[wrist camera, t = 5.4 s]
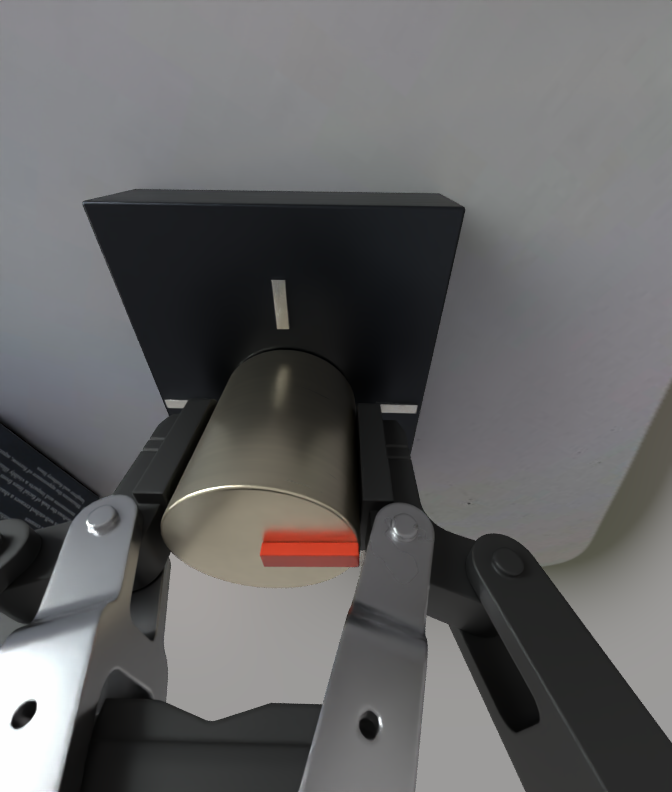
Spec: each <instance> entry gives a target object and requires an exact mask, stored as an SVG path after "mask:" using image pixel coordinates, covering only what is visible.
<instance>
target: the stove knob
mask: <svg viewBox="0 0 672 792" xmlns="http://www.w3.org/2000/svg"><path fill="white" fill-rule="evenodd" d="M160 527H161V535H162V538H163V541H164V543H165V544H166V546H167V547H168V549H169V550H170V551H171V552H172V553H173V554H174V555H175V556H177V558H178V559H180V560H181V561H183V562H184V563H185V564H187V565H189V566H190V567H192V568H194V569H196V570H198V571H200V572H202V573H204V574H207V575H209V576H212V577H214V578H218V579H221V580H224V581H228V582H232V583H236V584H241V585H246V586H254V587H264V588H292V587H302V586H308V585H313V584H318V583H321V582H324V581H327V580H330V579H332V578H335V577H336V576H338V575H340V574H342V573H343V572H345V571H346V570H347V569H349V568H350V567H359V552H360V547H361V539H360V514H359V488H358V463H357V437H356V412H355V398H354V394H353V391H352V389H351V386H350V384H349V383H348V381H347V380H346V378H345V377H344V376H343V375H342V374H341V372H340V371H338V370H337V369H336V368H335V367H334V366H333V365H331V364H330V363H328V362H327V361H325V360H323V359H321V358H319V357H317V356H314V355H312V354H308V353H305V352H301V351H294V350H274V351H268V352H264V353H261V354H258V355H255V356H253V357H251V358H249V359H247V360H246V361H245V362H243V363H242V364H241V365H239V366H238V367H237V368H236V369H235V371H234V372H233V373H232V375H231V377H230V379H229V381H228V383H227V385H226V387H225V389H224V391H223V393H222V395H221V397H220V399H219V401H218V403H217V406H216V408H215V410H214V412H213V414H212V416H211V418H210V420H209V422H208V424H207V426H206V428H205V430H204V432H203V434H202V436H201V438H200V441H199V443H198V445H197V447H196V449H195V451H194V453H193V455H192V457H191V459H190V461H189V463H188V465H187V467H186V469H185V471H184V473H183V476H182V478H181V480H180V482H179V484H178V486H177V488H176V490H175V492H174V494H173V496H172V498H171V500H170V502H169V504H168V506H167V508H166V511H165V513H164V515H163V517H162V520H161V526H160Z"/></svg>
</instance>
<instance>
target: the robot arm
mask: <svg viewBox="0 0 672 792" xmlns="http://www.w3.org/2000/svg"><path fill="white" fill-rule="evenodd" d="M217 403H218V402H217V400H216V399H204V398H190V399H189V400H188V401H187V403H186V404H185V406H184V408H183V409H182V411H181V413H180V414H172V415H170V416H169V417H168V418H167V419H165V420H164V421H163V422H162V423H160V424H159V425H158V427H157V428H156V430H155V431H154V433H153V434H152V436H151V437H150V440H148V442H147V443H146V445H145V446H144V448H143V451H141V452H140V454H139V455H138V457H137V459H136V460H135V462H134V463H133V465H132V466H131V468H130V469H129V471H128V472H127V474H126V475H125V477H124V478H123V480H122V481H121V483H120V484H119V486H118V487H117V489H116V490H115V492H114V493H113V495H110V496H107V497H104V498H101V499H99V500H97V501H95V502H93V503H91V504H90V505H88V506H87V507H85V508H84V509H83V510H82V511H81V512H80V513H79V514H78V515H77V516H76V517H75V518H74V520H72V521H69V522H65V523H61V524H57V525H53V526H49V527H44V528H40V529H36V530H33V529H32V528H31V527H30V526H29V525H28V524H27V523H26V522H25V521H23V520H21V519H15V518H11V519H4V520H0V792H415V788H416V778H417V767H418V756H419V745H420V734H421V723H422V712H423V702H424V691H425V681H426V669H427V655H428V653H427V652H428V645H427V639H426V636H425V624H426V615H428V616H430V617H432V618H435V619H437V620H439V621H442V622H444V623H447V624H449V627H450V629H451V631H452V633H453V635H454V638H455V640H456V642H457V644H458V646H459V648H460V650H461V652H462V655H463V657H464V659H465V661H466V664H467V666H468V668H469V670H470V672H471V674H472V676H473V679H474V681H475V683H476V685H477V687H478V690H479V692H480V694H481V696H482V698H483V700H484V702H485V705H486V707H487V709H488V711H489V713H490V716H491V718H492V720H493V722H494V724H495V726H496V728H497V730H498V733H499V735H500V737H501V739H502V742H503V744H504V746H505V748H506V750H507V752H508V754H509V757H510V759H511V761H512V763H513V765H514V768H515V770H516V772H517V774H518V776H519V778H520V781H521V783H522V785H523V787H524V789H525V791H526V792H672V743H671V741H670V740H669V739H668V737H667V736H666V735H665V733H664V732H663V731H662V729H661V728H660V726H659V725H658V724H657V722H655V720H654V718H653V717H652V716H651V714H650V713H649V712H648V710H647V709H646V708H645V706H644V705H643V704H642V702H641V701H640V700H639V698H638V697H637V696H636V694H635V693H634V692H633V690H632V689H631V687H630V686H629V685H628V683H627V682H626V681H625V679H624V678H623V677H622V675H621V674H620V673H619V671H618V670H617V669H616V667H615V666H614V665H613V663H612V662H611V660H610V659H609V658H608V656H607V655H606V654H605V652H604V651H603V650H602V648H601V647H600V646H599V644H598V643H597V642H596V640H595V639H594V638H593V636H592V635H591V633H590V632H589V631H588V629H587V628H586V627H585V625H584V624H583V623H582V621H581V620H580V619H579V617H578V616H577V615H576V613H575V612H574V611H573V609H572V608H571V606H570V605H569V604H568V602H567V601H566V600H565V598H564V597H563V596H562V594H561V593H560V592H559V591H558V589H557V588H556V586H555V585H554V584H553V582H552V581H551V580H550V578H549V577H548V575H547V574H546V573H545V571H544V570H543V569H542V567H541V566H540V565H539V563H538V562H537V561H536V559H535V558H534V557H533V555H532V554H531V553H530V552H529V551H528V550H527V549H526V548H525V547H524V546H523V545H522V544H520V543H519V542H517V541H516V540H514V539H512V538H510V537H508V536H505V535H502V534H486V535H483V536H481V537H480V538H478V539H477V540H476V541H474V540H471V539H468V538H465V537H462V536H460V535H457V534H454V533H451V532H448V531H446V530H444V529H442V528H440V527H439V526H438V525H436V524H435V523H434V522H433V521H431V520H430V518H429V517H428V516H427V515H426V513H425V512H424V510H423V508H422V506H421V502H420V498H419V493H418V489H417V484H416V479H415V475H414V470H413V465H412V461H411V456H410V451H409V448H408V442H407V437H406V433H405V431H404V430H403V428H402V427H401V426H400V424H399V423H398V422H397V421H396V420H383V419H382V412H381V406H380V404H371V403H357V408H356V437H357V463H358V488H359V514H360V539H361V547H360V550H365V552H366V553H365V557H364V561H363V565H362V568H361V572H360V576H359V579H358V583H357V587H356V590H355V594H354V598H353V601H352V605H351V607H350V609H349V612H348V615H347V618H346V621H345V625H344V628H343V631H342V635H341V639H340V642H339V646H338V650H337V653H336V657H335V661H334V664H333V668H332V672H331V676H330V679H329V682H328V686H327V690H326V693H325V697H324V701H323V704H320V705H319V704H289V703H288V704H287V703H270V704H267V705H263V706H260V707H257V708H254V709H251V710H248V711H245V712H242V713H239V714H235V715H232V716H229V717H226V718H223V719H220V720H216V721H207V720H204V719H202V718H200V717H197V716H195V715H193V714H191V713H188V712H186V711H184V710H182V709H179V708H177V707H175V706H173V705H170V704H168V703H166V696H167V682H168V667H167V659H166V655H165V650H164V631H165V621H166V611H167V600H168V590H169V579H170V569H171V562H170V559H169V555H170V552H171V551H170V550H169V549H168V547H167V546H166V544H165V543H164V541H163V538H162V535H161V527H160V526H161V520H162V517H163V515H164V513H165V511H166V508H167V506H168V504H169V502H170V500H171V498H172V496H173V494H174V492H175V490H176V488H177V486H178V484H179V482H180V480H181V478H182V476H183V473H184V471H185V469H186V467H187V465H188V463H189V461H190V459H191V457H192V455H193V453H194V451H195V449H196V447H197V445H198V443H199V441H200V438H201V436H202V434H203V432H204V430H205V428H206V426H207V424H208V422H209V420H210V418H211V416H212V414H213V412H214V410H215V408H216V406H217Z"/></svg>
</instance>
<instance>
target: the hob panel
mask: <svg viewBox="0 0 672 792" xmlns="http://www.w3.org/2000/svg"><path fill="white" fill-rule="evenodd" d="M83 207H84V210H85V212H86V214H87V217H88V219H89V222H90V224H91V227H92V229H93V231H94V234H95V236H96V239H97V241H98V244H99V246H100V249H101V251H102V253H103V256H104V258H105V261H106V263H107V266H108V268H109V270H110V273H111V275H112V278H113V280H114V283H115V285H116V287H117V290H118V292H119V295H120V297H121V300H122V302H123V305H124V307H125V309H126V312H127V314H128V317H129V319H130V322H131V324H132V326H133V329H134V331H135V334H136V336H137V339H138V341H139V343H140V346H141V348H142V351H143V353H144V356H145V358H146V361H147V363H148V365H149V368H150V370H151V373H152V375H153V378H154V380H155V382H156V385H157V387H158V390H159V392H160V395H161V397H162V399H163V402H164V404H165V407H166V409H167V412H168V414H169V416H170V415H172V414H180V413H181V411H182V409H183V408H184V406H185V404H186V403H187V401H188V400H189V399H190V398H204V399H216V400H217V402H218V401H219V399H220V397H221V395H222V393H223V391H224V389H225V387H226V385H227V383H228V381H229V379H230V377H231V375H232V373H233V372H234V371H235V369H236V368H237V367H238V366H239V365H241V364H242V363H243V362H245V361H246V360H247V359H249V358H251V357H253V356H255V355H258V354H261V353H264V352H268V351H274V350H294V351H301V352H305V353H308V354H312V355H314V356H317V357H319V358H321V359H323V360H325V361H327V362H328V363H330V364H331V365H333V366H334V367H335V368H336V369H337V370H338V371H340V372H341V374H342V375H343V376H344V377H345V378H346V380H347V381H348V383H349V384H350V386H351V389H352V391H353V394H354V398H355V412H356V408H357V403H371V404H380V406H381V412H382V419H383V420H396V421H397V422H398V423H399V424H400V426H401V427H402V428H403V430H404V431H405V433H406V437H407V442H408V448H409V451H410V454H411V450H412V445H413V441H414V436H415V432H416V427H417V423H418V418H419V414H420V410H421V405H422V401H423V396H424V392H425V387H426V383H427V378H428V374H429V370H430V365H431V361H432V356H433V352H434V347H435V343H436V338H437V334H438V329H439V325H440V321H441V316H442V312H443V307H444V303H445V298H446V294H447V289H448V285H449V280H450V276H451V272H452V267H453V263H454V258H455V254H456V249H457V245H458V240H459V236H460V232H461V227H462V223H463V218H464V214H465V207H463V206H461V205H459V204H458V203H456V202H454V201H452V200H450V199H449V198H447V197H445V196H443V195H441V194H439V193H369V192H300V191H231V190H161V189H134V190H129V191H125V192H121V193H116V194H112V195H108V196H103V197H99V198H94V199H90V200H86V201H84V202H83Z"/></svg>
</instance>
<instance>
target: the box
mask: <svg viewBox="0 0 672 792" xmlns="http://www.w3.org/2000/svg"><path fill="white" fill-rule="evenodd" d="M99 499H100V498H99V497H98V496H96V495H95V494H94V493H92V492H91V491H89V490H88V489H87V488H85V487H84V486H83V485H81V484H80V483H79V482H77V481H76V480H75V479H74V478H72V477H71V476H69V475H68V474H67V473H65V472H64V471H63V470H61V469H60V468H59V467H57V466H56V465H55V464H53V463H52V462H51V461H50V460H48V459H47V458H45V457H44V456H43V455H41V454H40V453H39V452H37V451H36V450H35V449H34V448H32V447H31V446H30V445H28V444H27V443H26V442H24V441H23V440H22V439H20V438H19V437H17V436H16V435H15V434H14V433H12V432H11V431H10V430H8V429H7V428H6V427H4V426H3V425H2V424H0V520H4V519H11V518H15V519H21V520H23V521H25V522H26V523H27V524H28V525H29V526H30V527H31V528H32V529H33V530H36V529H40V528H44V527H49V526H53V525H57V524H61V523H65V522H69V521H72V520H74V518H75V517H76V516H77V515H78V514H79V513H80V512H81V511H82V510H83V509H84V508H85V507H87V506H88V505H90V504H91V503H93V502H95V501H97V500H99Z"/></svg>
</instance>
